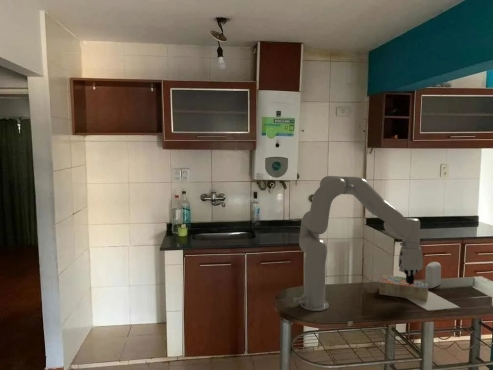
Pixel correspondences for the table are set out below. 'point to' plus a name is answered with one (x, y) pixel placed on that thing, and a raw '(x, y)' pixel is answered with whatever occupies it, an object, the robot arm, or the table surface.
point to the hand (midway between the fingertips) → (409, 283)
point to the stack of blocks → (403, 288)
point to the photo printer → (433, 274)
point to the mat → (434, 303)
